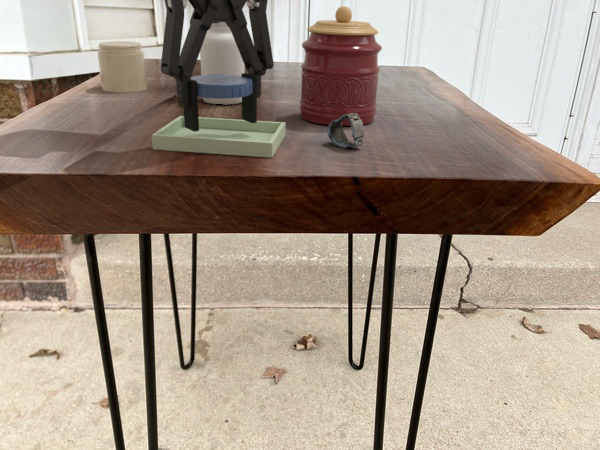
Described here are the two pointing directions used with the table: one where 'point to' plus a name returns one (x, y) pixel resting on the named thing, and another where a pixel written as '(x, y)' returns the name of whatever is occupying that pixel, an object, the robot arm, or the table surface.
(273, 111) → the table surface
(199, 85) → the jar lid
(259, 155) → the tray
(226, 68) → the pill bottle
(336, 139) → the wristwatch
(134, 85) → the jar
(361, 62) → the kitchen canister
